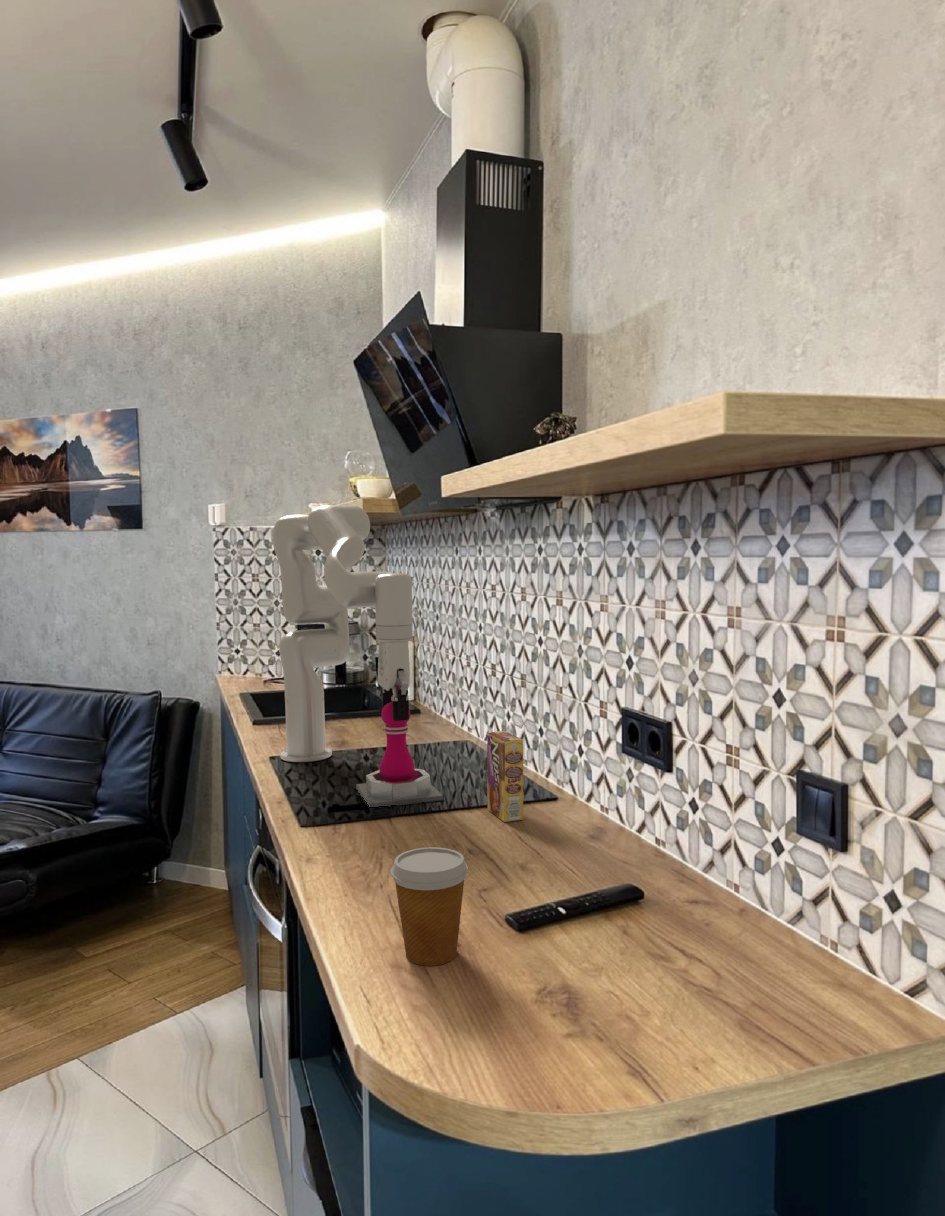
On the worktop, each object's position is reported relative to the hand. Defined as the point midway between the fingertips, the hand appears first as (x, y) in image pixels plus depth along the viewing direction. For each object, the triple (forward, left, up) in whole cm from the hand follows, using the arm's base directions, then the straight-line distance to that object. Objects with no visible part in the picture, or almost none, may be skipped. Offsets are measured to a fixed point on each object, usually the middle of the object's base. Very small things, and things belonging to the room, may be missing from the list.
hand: (395, 715), depth 173 cm
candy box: (+21, +16, -17) cm, 32 cm away
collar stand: (0, 0, -17) cm, 17 cm away
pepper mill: (0, 0, -16) cm, 16 cm away
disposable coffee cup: (+70, -12, -17) cm, 73 cm away
